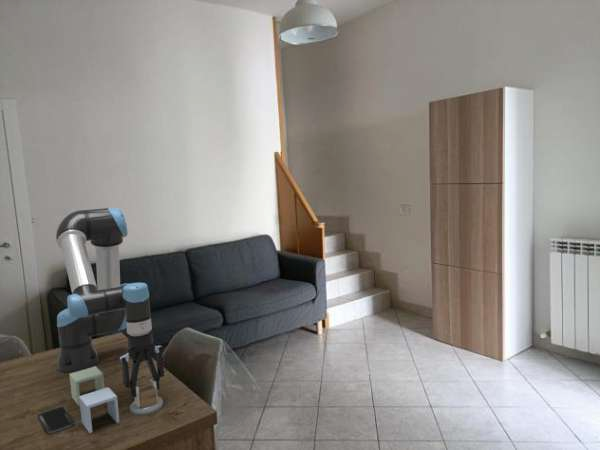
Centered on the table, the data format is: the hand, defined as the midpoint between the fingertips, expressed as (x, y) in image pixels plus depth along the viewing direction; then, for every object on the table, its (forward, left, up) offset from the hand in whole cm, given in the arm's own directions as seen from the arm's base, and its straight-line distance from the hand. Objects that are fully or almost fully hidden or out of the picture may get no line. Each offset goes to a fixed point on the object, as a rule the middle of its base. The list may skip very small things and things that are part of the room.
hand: (146, 402), depth 149 cm
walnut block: (0, 0, 0) cm, 0 cm away
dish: (0, 0, -2) cm, 2 cm away
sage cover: (-22, -12, -2) cm, 25 cm away
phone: (-12, -24, -2) cm, 27 cm away
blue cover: (-1, -14, -2) cm, 14 cm away
